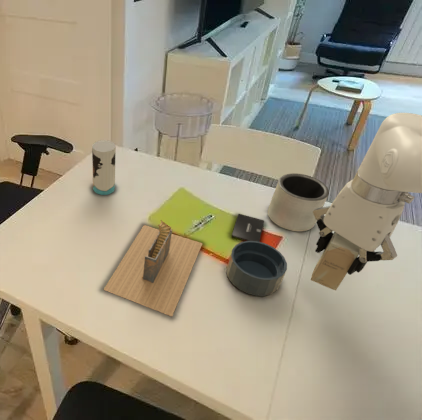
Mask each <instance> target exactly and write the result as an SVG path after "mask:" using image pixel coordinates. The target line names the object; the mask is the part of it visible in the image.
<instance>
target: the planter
mask: <svg viewBox="0 0 422 420" xmlns="http://www.w3.org/2000/svg"><path fill="white" fill-rule="evenodd" d="M329 194H330V190H329V187H328V186H327V185H326V184H325V183H324V182H322V181H321V180H320V179H318V178H316V177H314V176H311V175H307V174H303V173H293V172H292V173H286V174H283V175H282V176H280V177H279V179H278V181H277V183H276V187H275V189H274V192H273V195H272V196H271V200H270V202H269V205H268V209H267V216H268V217H269V219H270V220H271V221H272V222H273V223H274V224H275V225H277V226H278V227H280V228H282V229H285V230H288V231H292V232H305V231H309V230H311V229H312V228H314V227H315V225H316V224H317V223H316V222H317V220H316V219H315V216H314V214H313V211H314V210H316V209H317V208H322V207H325V206H324V205H325V203H326V201H327V199H328V197H329Z"/></svg>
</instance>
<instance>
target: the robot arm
mask: <svg viewBox="0 0 422 420" xmlns="http://www.w3.org/2000/svg"><path fill="white" fill-rule="evenodd" d="M411 193H412V194H411ZM413 193H414V194H422V115H421V114H417V113H413V112H396V113H391V114H390V115H388V116H387V117H385V118H384V119H383V121H382V122H381V124H380V125H379V128H378V129H377V132H376V133H375V135H374V137H373V139H372V142H371V143H370V145H369V147H368V150H367V151H366V153H365V155H364V156H363V159H362V161H361V163H360V165H359V166H358V169H357V171H356V173H355V175H354V178H352V179H351V180H349V181H348V182H346V184H345V185H344V186H343V187H342V189H341V190H340V191H339V192H338V194H337V195H336V197H335V198H334V200H333V201H332V202H331V204H330V205H328V206H323V207H322V208H317V209H316V210H314V211H313V214H314V216H315V219H316V220H317V221H316V223H315V224H316V225H317V227H318V228H317V229H318V230H319V232H318V235H319V238H318V240H317V241H316V243H315V244H316V248H315V253H317V254H320V253H322V252H324V250H325V248H326V246H327V245H328V243H329V241H330V239H331V237H332V235H333V234H334V232H336V233H337V234H339V235H341V236H342V237H344V238H346V239H347V240H349V241H350V242H352V243H354V244H355V245H357V246H359V255H358V257H357V258H356V259H355V260H354V261H353V263H352V265H351V266H350V268H349V270H348V271H347V275H349V276H351V275H352V274H354V273H356V272H357V273H360V272H362V270H364V268H365V266H366V265H367V263H368V262H369V263H370V262H379V261H393V260H394V259H396V258H398V254H397V252H396V248H395V246H394V244H393V242H392V239H391V237H392V235H393V234H394V231H395V229H396V227H397V226H398V223H399V222H400V219H401V216H402V214H403V213H404V212H403V211H404V209H405V205H406V204H408V205H409V204H411V203H412V202H413V201H414V199H415V198H416V197H415V196H413ZM379 247H381V249H382V251H376V250H377V249H378V248H379Z"/></svg>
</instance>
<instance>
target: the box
mask: <svg viewBox="0 0 422 420" xmlns="http://www.w3.org/2000/svg"><path fill="white" fill-rule="evenodd" d="M333 233H334V234H333V235H332V237H331V239H330V241H329V243H328V245H327V246H326V248H325V250H323V251H322V254H321V256H320V257H319V259H318V261H316V265H315V266H314V268H313V271H312V273H311V277H310V281H312V282H314V283H317V284H319V285H321V286H323V287H325V288H328V289H330V290H333V291H337V290H338V288H339V287H340V285H341V284H342V282H343V281H344V279H345V277H346V275H348V272H347V271H348V270H349V268H350V266H351V265H352V263H353V261H354V260H355V259H356V258H357V257H359V246H357V245H355V244H354V243H352V242H350V241H349V240H347V239H346V238H344V237H342V236H341V235H339V234H337V233H336V232H334V231H333Z"/></svg>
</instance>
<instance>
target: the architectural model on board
mask: <svg viewBox="0 0 422 420" xmlns="http://www.w3.org/2000/svg"><path fill="white" fill-rule="evenodd" d="M157 227H158V228H154V227H151V226H149V225H146V224H143V226H142V227H141V229H140V231H139V232H138V233H137V235H136V237H135V238H134V240H133V242H132V243H131V245H130V246H129V248H128V250H126V253H125V254H124V256H123V258H122V259H121V261H120V262H119V264H118V266H117V267H116V269H115V270H114V272H113V274H112V276H111V277H110V278H109V280H108V282H107V283H106V285H105V286H104V288H103V291H106V292H109V293H111V294H113V295H115V296H118V297H121V298H123V299H126V300H129V301H131V302H134V303H136V304H138V305H141V306H144V307H146V308H149V309H151V310H154V311H156V312H159V313H161V314H163V315H164V314H165V315H167V316H169V317H173V316H174V314H175V311H176V308H177V306H178V304H179V301H180V299H181V296H182V294H183V291H184V290H185V286H186V284H187V282H188V279H189V277H190V275H191V273H192V270H193V267H194V265H195V263H196V260H197V258H198V255H199V253H200V250H201V248H202V246H203V243H202V242H200V241H197V240H193V239H190V238H187V237H184V236H181V235H177V234H175V233H173V229H172V226H170V225H169V224H167V223H165V222H164V221H163V220H162V219H161V220H160V223H159V224H157Z"/></svg>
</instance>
